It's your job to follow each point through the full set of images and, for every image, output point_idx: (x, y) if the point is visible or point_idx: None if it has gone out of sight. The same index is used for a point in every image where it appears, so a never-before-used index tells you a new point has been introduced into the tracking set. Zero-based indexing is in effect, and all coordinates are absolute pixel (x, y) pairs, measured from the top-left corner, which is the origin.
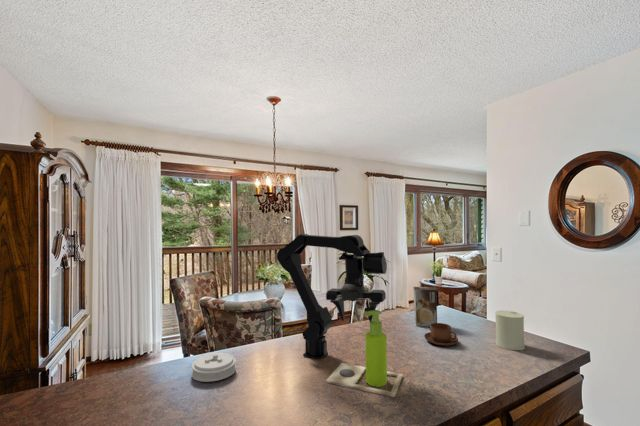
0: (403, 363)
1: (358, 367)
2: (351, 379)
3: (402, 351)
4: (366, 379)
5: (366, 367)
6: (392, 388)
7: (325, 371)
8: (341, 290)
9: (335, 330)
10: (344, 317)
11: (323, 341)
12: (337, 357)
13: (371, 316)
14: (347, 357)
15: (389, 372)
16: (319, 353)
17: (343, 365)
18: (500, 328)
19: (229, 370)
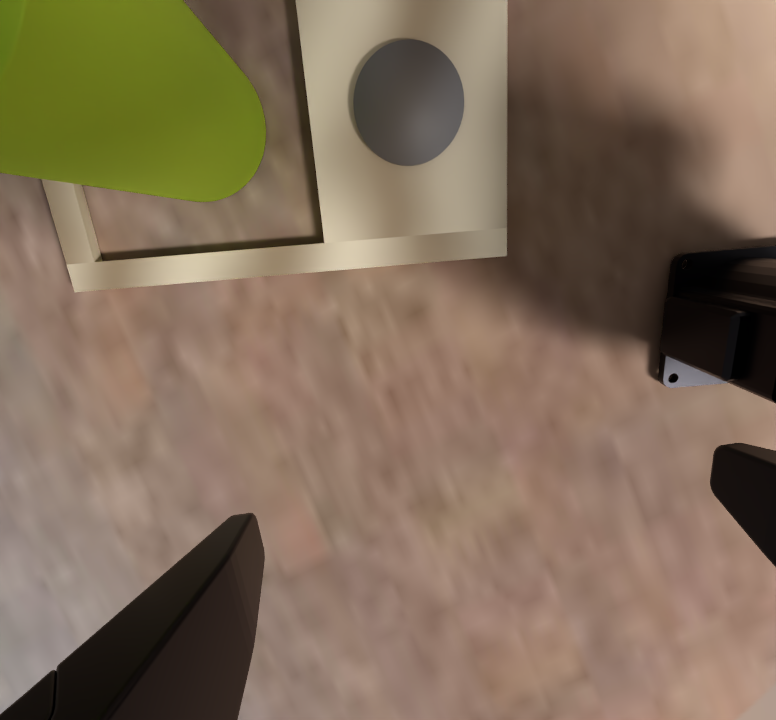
0: (159, 459)
1: (371, 241)
2: (341, 25)
3: None
4: (240, 69)
5: (205, 27)
6: None
7: (571, 94)
8: None
9: (708, 692)
10: (744, 527)
11: (749, 344)
12: (567, 345)
13: (151, 596)
14: (505, 377)
15: (159, 273)
16: (705, 288)
17: (478, 218)
18: None
19: None
